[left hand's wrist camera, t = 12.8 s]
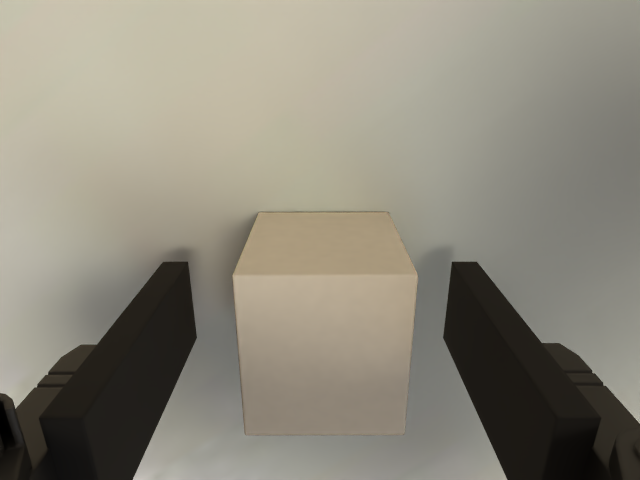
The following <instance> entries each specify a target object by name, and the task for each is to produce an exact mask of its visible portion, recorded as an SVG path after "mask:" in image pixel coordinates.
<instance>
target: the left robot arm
mask: <svg viewBox="0 0 640 480" xmlns="http://www.w3.org/2000/svg"><path fill="white" fill-rule="evenodd" d="M196 338H197V336H196V327H195V318H194V310H193V301H192V292H191V284H190V275H189V266H188V262H163V263H162V264H161V265H160V267H159V268H158V269H157V270H156V272H155V273H154V274H153V275H152V277H151V278H150V279H149V280H148V282H147V283H146V284H145V285H144V287H143V288H142V289H141V290H140V292H139V293H138V294H137V295H136V297H135V298H134V299H133V300H132V302H131V303H130V304H129V305H128V307H127V308H126V309H125V310H124V312H123V313H122V314H121V315H120V317H119V318H118V319H117V320H116V322H115V323H114V324H113V325H112V327H111V328H110V329H109V330H108V332H107V333H106V334H105V335H104V337H103V338H102V339H101V340H100V342H99V343H98V344H97V345H80V346H78V347H77V348H75V349H74V350H72V351H70V352H69V353H67V354H66V355H64V356H63V357H61V358H60V360H59V361H58V362H57V363H56V364H55V365H54V366H53V367H52V369H51V370H50V371H49V372H48V375H45V376H44V378H43V379H42V380H41V381H40V382H39V383H38V384H37V385H38V386H37V388H34V389H33V390H32V391H31V392H30V393H29V394H28V396H27V397H26V398H25V399H24V400H23V401H22V402H21V403H20V405H19V406H18V407H17V408H16V409H15V406H14V403H13V400H12V399H11V398H10V397H9V396H7V395H6V394H2V393H0V480H133V477H134V475H135V473H136V471H137V469H138V466H139V464H140V462H141V460H142V458H143V455H144V453H145V451H146V449H147V447H148V444H149V442H150V440H151V438H152V435H153V433H154V431H155V429H156V427H157V424H158V422H159V420H160V418H161V416H162V413H163V411H164V409H165V407H166V405H167V402H168V400H169V398H170V396H171V394H172V391H173V389H174V387H175V385H176V383H177V380H178V378H179V376H180V374H181V371H182V369H183V367H184V365H185V363H186V360H187V358H188V356H189V354H190V352H191V349H192V347H193V345H194V343H195V341H196ZM443 338H444V341H445V343H446V345H447V347H448V349H449V352H450V354H451V356H452V358H453V360H454V363H455V365H456V367H457V369H458V371H459V374H460V376H461V378H462V380H463V383H464V385H465V387H466V389H467V391H468V394H469V396H470V398H471V400H472V402H473V405H474V407H475V409H476V411H477V413H478V416H479V418H480V420H481V422H482V424H483V427H484V429H485V431H486V433H487V435H488V438H489V440H490V442H491V444H492V447H493V449H494V451H495V453H496V455H497V458H498V460H499V462H500V464H501V466H502V469H503V471H504V473H505V475H506V477H507V480H640V424H639V423H638V421H637V420H636V419H635V418H634V417H633V416H632V415H631V414H630V413H629V411H628V410H627V409H626V408H625V407H624V406H623V405H622V404H621V402H620V401H619V400H618V399H617V398H616V397H615V396H614V395H613V393H612V392H611V391H610V390H609V389H608V388H607V387H606V386H603V382H602V381H601V380H600V379H599V378H598V377H597V376H596V374H595V373H592V370H591V369H590V368H589V367H588V365H587V364H586V363H585V362H584V361H583V360H582V359H581V358H580V356H578V355H577V354H575V353H574V352H572V351H571V350H569V349H567V348H566V347H564V346H563V345H561V344H560V343H541V342H540V340H539V339H538V338H537V337H536V335H535V334H534V333H533V332H532V330H531V329H530V328H529V327H528V325H527V324H526V323H525V322H524V320H523V319H522V318H521V317H520V315H519V314H518V313H517V312H516V310H515V309H514V308H513V307H512V305H511V304H510V303H509V302H508V300H507V299H506V298H505V297H504V295H503V294H502V293H501V292H500V290H499V289H498V288H497V287H496V285H495V284H494V283H493V282H492V280H491V279H490V278H489V277H488V275H487V274H486V273H485V272H484V270H483V269H482V268H481V267H480V265H479V264H478V263H477V262H452V266H451V275H450V284H449V292H448V301H447V310H446V318H445V327H444V336H443Z"/></svg>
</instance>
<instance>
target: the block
mask: <svg viewBox="0 0 640 480" xmlns="http://www.w3.org/2000/svg"><path fill="white" fill-rule="evenodd" d="M232 280H233V293H234V305H235V318H236V330H237V343H238V356H239V368H240V381H241V393H242V406H243V418H244V431H245V435H404V433H405V424H406V412H407V400H408V388H409V377H410V365H411V353H412V342H413V330H414V318H415V306H416V295H417V283H418V274H417V272H416V270H415V268H414V266H413V264H412V261H411V259H410V257H409V255H408V253H407V251H406V249H405V246H404V244H403V242H402V240H401V238H400V236H399V234H398V231H397V229H396V227H395V225H394V223H393V221H392V219H391V216H390V214H389V213H388V212H259V213H258V215H257V218H256V220H255V223H254V225H253V227H252V230H251V232H250V235H249V237H248V239H247V242H246V244H245V247H244V249H243V251H242V254H241V256H240V258H239V261H238V263H237V266H236V268H235V270H234V273H233V275H232Z"/></svg>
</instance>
